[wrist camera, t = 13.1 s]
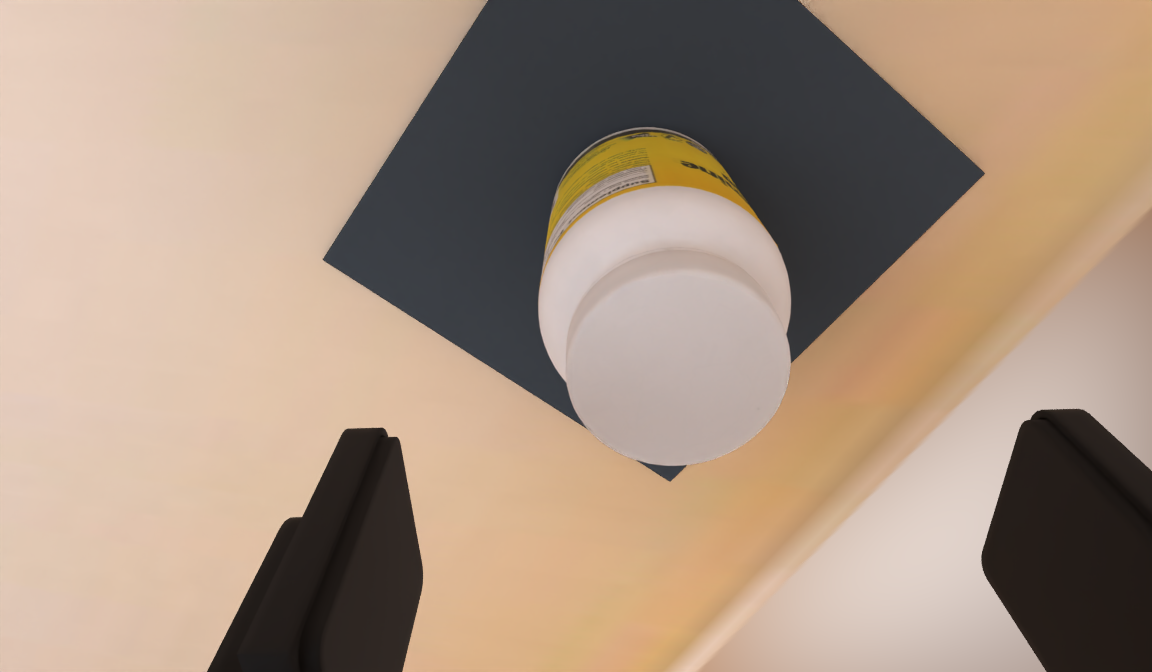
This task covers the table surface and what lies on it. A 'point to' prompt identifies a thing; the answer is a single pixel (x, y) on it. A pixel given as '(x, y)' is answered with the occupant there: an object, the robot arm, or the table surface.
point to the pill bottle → (663, 300)
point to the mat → (631, 100)
